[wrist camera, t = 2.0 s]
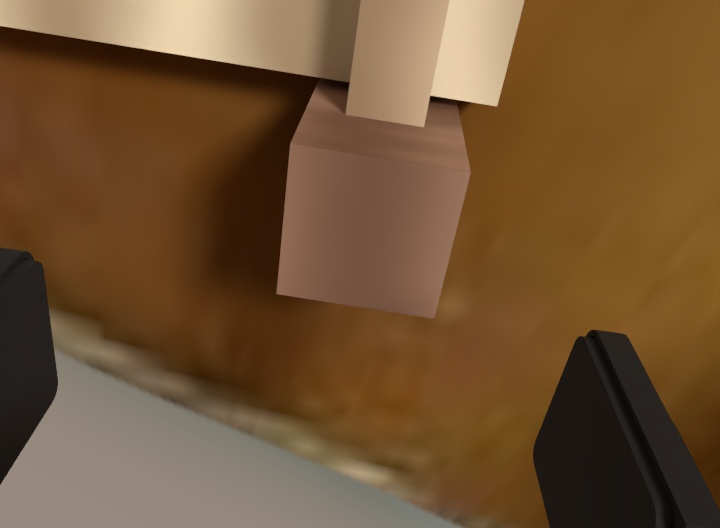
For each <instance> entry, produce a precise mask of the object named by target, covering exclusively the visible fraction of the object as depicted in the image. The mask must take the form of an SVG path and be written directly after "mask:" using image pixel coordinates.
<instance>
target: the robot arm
mask: <svg viewBox="0 0 720 528" xmlns="http://www.w3.org/2000/svg"><path fill="white" fill-rule="evenodd" d="M57 386H58V378H57V370H56V362H55V355H54V347H53V339H52V332H51V324H50V316H49V308H48V301H47V293H46V285H45V278H44V270H43V266H42V264H41V263H40V262H38V261H34V259H33V257H32V255H31V253H29V252H27V251H20V250H13V249H6V248H0V484H1V483H2V481H3V479H4V477H5V476H6V475H7V473H8V471H9V470H10V468H11V467H12V465H13V464H14V462H15V460H16V459H17V457H18V456H19V454H20V452H21V451H22V449H23V448H24V446H25V445H26V443H27V441H28V440H29V438H30V437H31V435H32V434H33V432H34V430H35V429H36V427H37V426H38V424H39V422H40V421H41V419H42V418H43V416H44V414H45V413H46V411H47V410H48V408H49V406H50V405H51V403H52V402H53V400H54V398H55V395H56V391H57ZM533 460H534V465H535V469H536V473H537V477H538V481H539V485H540V489H541V493H542V497H543V501H544V505H545V509H546V513H547V517H548V521H549V525H550V528H720V510H719V508H718V506H717V504H716V502H715V501H714V499H713V497H712V495H711V493H710V491H709V489H708V487H707V485H706V483H705V481H704V480H703V478H702V476H701V474H700V472H699V470H698V468H697V466H696V464H695V462H694V460H693V459H692V457H691V455H690V453H689V451H688V449H687V447H686V445H685V443H684V441H683V439H682V437H681V436H680V434H679V432H678V430H677V428H676V426H675V424H674V423H673V421H672V420H671V419H670V417H669V415H668V413H667V411H666V409H665V407H664V405H663V404H662V402H661V400H660V398H659V396H658V394H657V392H656V390H655V388H654V386H653V384H652V382H651V381H650V379H649V377H648V375H647V373H646V371H645V369H644V367H643V365H642V363H641V361H640V359H639V357H638V356H637V354H636V352H635V350H634V348H633V346H632V344H631V342H630V340H629V338H628V337H627V336H626V335H624V334H621V333H613V332H606V331H599V330H591V331H590V332H589V333H588V334H587V335H586V337H583V336H580V337H578V338H577V339H576V341H575V343H574V346H573V348H572V351H571V353H570V356H569V358H568V361H567V363H566V366H565V368H564V371H563V373H562V376H561V378H560V381H559V383H558V386H557V388H556V391H555V394H554V396H553V399H552V401H551V404H550V406H549V409H548V411H547V414H546V416H545V419H544V421H543V424H542V426H541V429H540V431H539V434H538V436H537V439H536V441H535V445H534V451H533Z"/></svg>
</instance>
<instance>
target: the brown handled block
mask: <svg viewBox="0 0 720 528" xmlns="http://www.w3.org/2000/svg"><path fill="white" fill-rule="evenodd" d="M449 1H450V0H361V3H360V10H359V17H358V25H357V32H356V40H355V47H354V55H353V62H352V69H351V77H350V83H349V82H343V81H337V80H331V79H325V78H319V80H318V83H317V85H316V87H315V89H314V92H313V94H312V96H311V98H310V101H309V103H308V105H307V107H306V110H305V112H304V114H303V116H302V118H301V121H300V123H299V125H298V127H297V130H296V132H295V134H294V136H293V139H292V141H291V143H290V151H289V162H288V173H287V184H286V195H285V206H284V217H283V228H282V239H281V250H280V261H279V272H278V283H277V294H280V295H286V296H292V297H299V298H305V299H312V300H318V301H324V302H331V303H337V304H343V305H350V306H356V307H363V308H369V309H375V310H382V311H388V312H395V313H401V314H407V315H414V316H420V317H426V318H433V319H434V317H435V313H436V310H437V306H438V302H439V298H440V294H441V290H442V286H443V282H444V278H445V274H446V270H447V266H448V262H449V258H450V254H451V250H452V246H453V242H454V238H455V234H456V230H457V226H458V222H459V218H460V214H461V210H462V206H463V202H464V198H465V194H466V190H467V186H468V182H469V178H470V174H471V171H470V166H469V161H468V156H467V151H466V146H465V141H464V136H463V131H462V126H461V121H460V116H459V111H458V105H457V100H454V99H448V98H442V97H436V96H430V95H431V90H432V85H433V80H434V75H435V70H436V65H437V60H438V55H439V50H440V45H441V40H442V35H443V30H444V25H445V20H446V15H447V10H448V5H449Z"/></svg>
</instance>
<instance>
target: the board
mask: <svg viewBox="0 0 720 528" xmlns="http://www.w3.org/2000/svg"><path fill="white" fill-rule="evenodd" d="M360 3H361V0H0V26H4V27H10V28H16V29H22V30H29V31H35V32H41V33H47V34H53V35H59V36H66V37H72V38H78V39H84V40H90V41H96V42H103V43H109V44H115V45H121V46H127V47H133V48H140V49H146V50H152V51H158V52H164V53H170V54H177V55H183V56H189V57H195V58H201V59H207V60H214V61H220V62H226V63H232V64H238V65H244V66H251V67H257V68H263V69H269V70H275V71H282V72H288V73H294V74H300V75H306V76H312V77H319V78H325V79H331V80H337V81H343V82H349V83H350V77H351V69H352V62H353V55H354V47H355V40H356V32H357V25H358V17H359V10H360ZM523 4H524V0H450V1H449V5H448V10H447V15H446V20H445V25H444V30H443V35H442V40H441V45H440V50H439V55H438V60H437V65H436V70H435V75H434V80H433V85H432V90H431V95H430V96H436V97H442V98H448V99H454V100H460V101H467V102H473V103H479V104H485V105H491V106H497V105H498V101H499V97H500V93H501V89H502V85H503V82H504V78H505V74H506V70H507V66H508V62H509V58H510V54H511V51H512V47H513V43H514V39H515V35H516V31H517V27H518V24H519V20H520V16H521V12H522V8H523Z"/></svg>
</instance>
